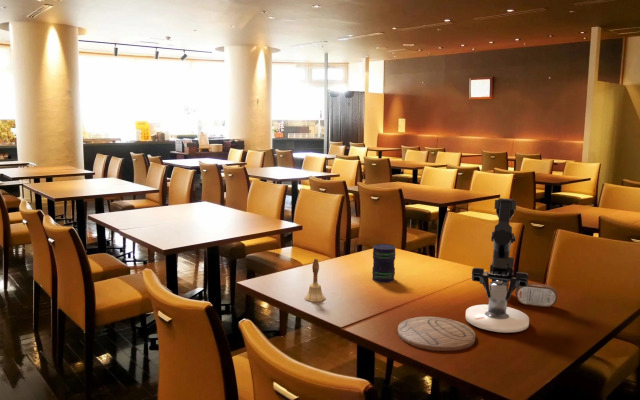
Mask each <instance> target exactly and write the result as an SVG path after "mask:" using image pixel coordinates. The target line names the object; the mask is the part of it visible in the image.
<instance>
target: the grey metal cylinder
mask: <svg viewBox="0 0 640 400" xmlns="http://www.w3.org/2000/svg"><path fill="white" fill-rule="evenodd" d="M508 290H509V287H508V284H507V283H505V282H503V280H499V279H497V280H496V281H492V280H491V281H490V283H489V298H488V304H487V305H488V311H489V312H490V313H493V314H498V315H503V314H506V308H507V307H508V306H507V305H508V300H507V295H508Z"/></svg>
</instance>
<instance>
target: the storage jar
mask: <svg viewBox="0 0 640 400" xmlns="http://www.w3.org/2000/svg"><path fill="white" fill-rule="evenodd" d="M372 246H373V247H372V259H373V263H372V264H373V265H372V269H371V270H372V271H371V274H372V281H373V282H375V283H376V282H377V283H380V284H381V283H382V284H384V283H386V284H389V283H392V282H394V281H395V273H396V272H395V271H396V267H395V261H396V246H395V245H393V244H388V243H377V244H374V245H372Z"/></svg>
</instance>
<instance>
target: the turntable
mask: <svg viewBox="0 0 640 400" xmlns="http://www.w3.org/2000/svg"><path fill="white" fill-rule="evenodd" d="M488 305H489V304H476V305H472V306H470V307H468V308H466V310H465V320H466V321H467V322H468V324H470V325H472V326H474V327H477V328H479V329H482V330H485V331H490V332H496V333H519V332H523V331H526V330H527V329H528V328H529V326H530V318H529V316H528V315H527V314H526V313H525V312H523V311H521V310H518V309H516V308H512V307H509V306H507V308H506V314H503V315H498V314H493V313H490V312H489V311H488Z"/></svg>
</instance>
